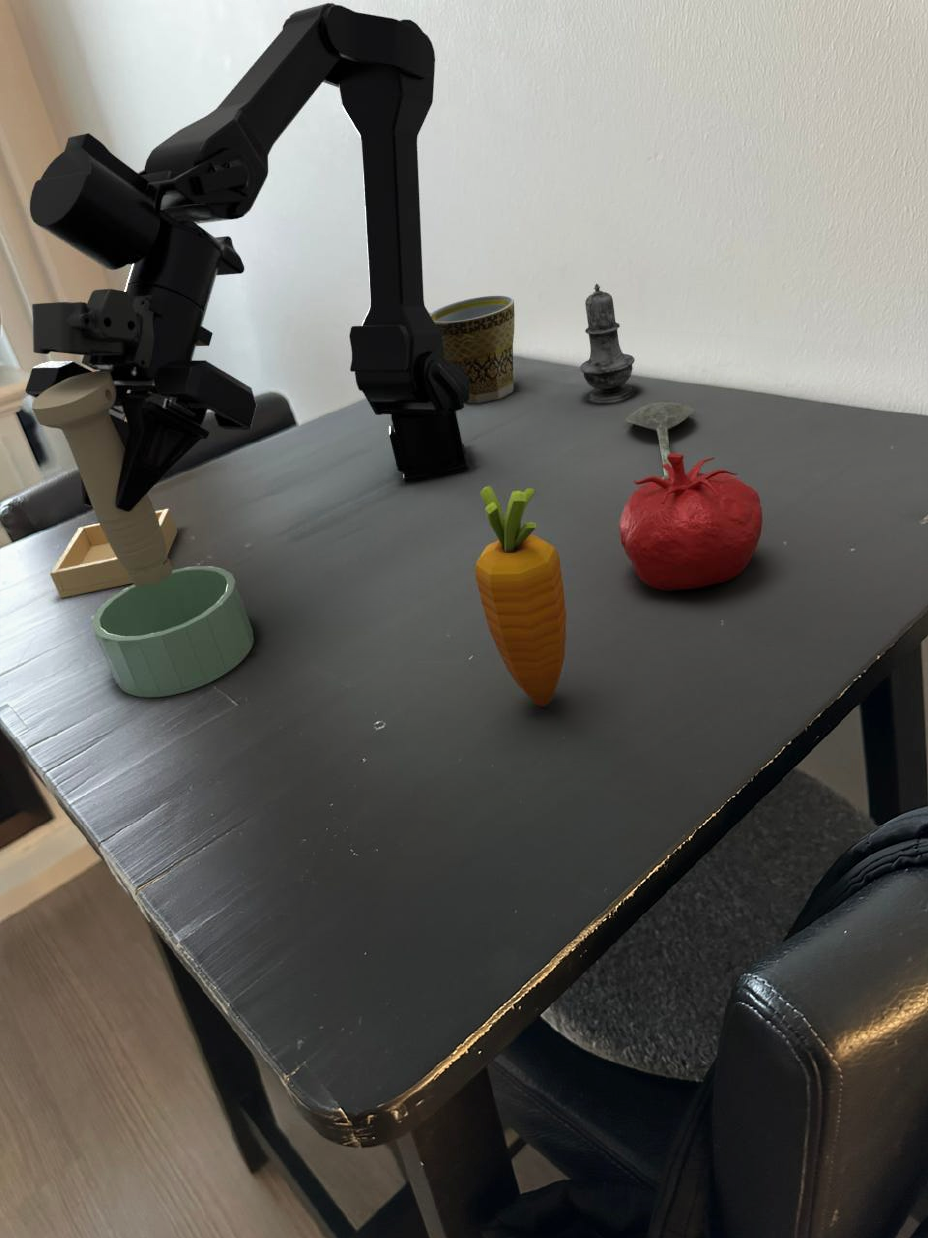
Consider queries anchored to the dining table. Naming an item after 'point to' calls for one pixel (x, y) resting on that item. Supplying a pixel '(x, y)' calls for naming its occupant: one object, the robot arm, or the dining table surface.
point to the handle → (105, 471)
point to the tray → (98, 560)
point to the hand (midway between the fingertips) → (105, 507)
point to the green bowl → (174, 632)
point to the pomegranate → (690, 527)
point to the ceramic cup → (480, 343)
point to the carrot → (523, 598)
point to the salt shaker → (605, 353)
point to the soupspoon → (661, 422)
